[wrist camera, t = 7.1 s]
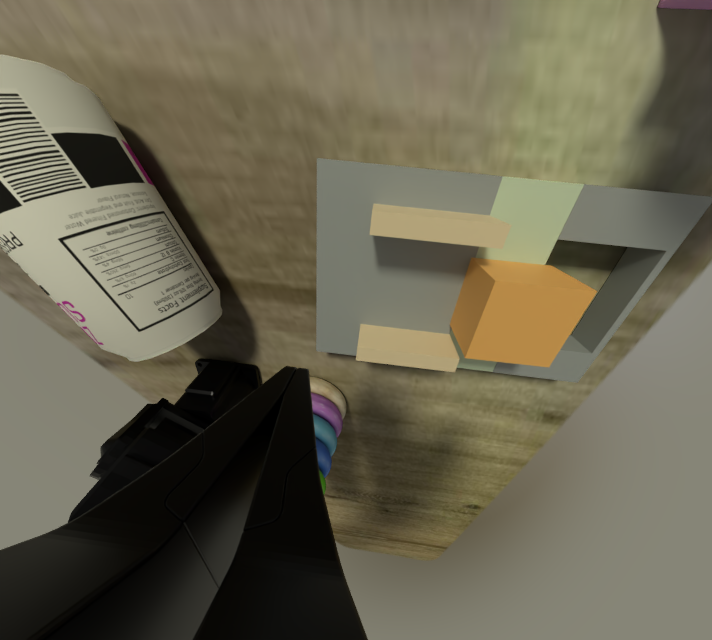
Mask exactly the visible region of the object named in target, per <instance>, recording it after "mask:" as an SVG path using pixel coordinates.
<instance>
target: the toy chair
mask: <svg viewBox="0 0 712 640" xmlns="http://www.w3.org/2000/svg"><path fill="white" fill-rule="evenodd" d="M658 8H673V9H705V10H712V0H660V2H659V5H658Z"/></svg>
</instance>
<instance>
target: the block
mask: <svg viewBox="0 0 712 640" xmlns="http://www.w3.org/2000/svg"><path fill="white" fill-rule="evenodd" d="M596 293H597V291H596V290H594V289H592V288H590V287H589V286H587V285H585V284H583V283H581V282H580V281H578V280H576V279H574V278H573V277H571V276H569V275H567V274H566V273H564V272H562V271H560V270H558V269H557V268H555V267H553V266H550V265H540V264H531V263H521V262H511V261H501V260H491V259H482V258H472V257H471V260H470V263H469V266H468V269H467V272H466V275H465V278H464V282H463V285H462V288H461V291H460V294H459V297H458V300H457V303H456V306H455V309H454V312H453V315H452V318H451V322H450V326H451V328H452V331H453V333H454V335H455V337H456V339H457V342H458V344H459V346H460V348H461V350H462V353H463V355H464V357H465V358H468V359H477V360H486V361H495V362H504V363H513V364H522V365H531V366H540V367H550V365H551V363H552V362H553V360H554V359H555V357H556V356H557V354H558V352H559V351H560V349H561V348H562V346H563V345H564V343H565V341H566V340H567V338H568V337H569V335H570V333H571V332H572V330H573V329H574V327H575V326H576V324H577V322H578V321H579V319H580V318H581V316H582V315H583V313H584V311H585V310H586V308H587V307H588V305H589V304H590V302H591V300H592V299H593V297H594V296H595V294H596Z"/></svg>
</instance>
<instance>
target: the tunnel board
mask: <svg viewBox="0 0 712 640" xmlns="http://www.w3.org/2000/svg"><path fill="white" fill-rule="evenodd" d="M711 203H712V197H710V196H699V195H689V194H679V193H669V192H658V191H648V190H638V189H628V188H617V187H607V186H597V185H587V184H576V183H566V182H556V181H546V180H535V179H525V178H515V177H505V176H495V175H484V174H474V173H464V172H454V171H443V170H433V169H423V168H413V167H403V166H392V165H382V164H372V163H362V162H351V161H341V160H331V159H321V158H317V341H316V351H321V352H329V353H337V354H345V355H354V356H356V360H357V361H366V362H374V363H382V364H390V365H399V366H407V367H415V368H423V369H432V370H440V371H448V372H455V371H456V368H464V369H473V370H481V371H489V372H494V373H503V374H511V375H519V376H528V377H536V378H544V379H552V380H561V381H569V382H577V383H578V381H579V380H580V379H581V377H582V376H583V375H584V373H585V372H586V371H587V369H588V368H589V367H590V365H591V364H592V362H593V361H594V360H595V358H596V357H597V356H598V354H599V353H600V352H601V350H602V349H603V348H604V346H605V345H606V344H607V342H608V341H609V340H610V338H611V337H612V336H613V334H614V333H615V332H616V330H617V329H618V328H619V326H620V325H621V324H622V322H623V321H624V320H625V318H626V317H627V316H628V314H629V313H630V312H631V310H632V309H633V308H634V306H635V305H636V304H637V302H638V301H639V300H640V298H641V297H642V296H643V294H644V293H645V292H646V290H647V289H648V288H649V286H650V285H651V284H652V282H653V281H654V280H655V278H656V277H657V276H658V274H659V273H660V272H661V270H662V269H663V268H664V266H665V265H666V263H667V262H668V261H669V259H670V258H671V257H672V255H673V254H674V253H675V251H676V250H677V249H678V247H679V246H680V245H681V243H682V242H683V241H684V239H685V238H686V237H687V235H688V234H689V233H690V231H691V230H692V229H693V227H694V226H695V225H696V223H697V222H698V221H699V219H700V218H701V217H702V215H703V214H704V213H705V211H706V210H707V209H708V207H709V206H710V205H711ZM557 239H559V240H568V241H578V242H587V243H597V244H606V245H616V246H626V247H628V248H627V249H626V251H625V252H624V254H623V255H622V257H621V259H620V260H619V262H618V263H617V265H616V266H615V268H614V269H613V271H612V273H611V274H610V276H609V277H608V279H607V280H606V282H605V283H604V285H603V287H602V288H601V290H600V291H599V293H598V294H597V296H596V297H595V299H594V301H593V302H592V304H591V305H590V307H589V308H588V310H587V311H586V313H585V315H584V316H583V318H582V319H581V321H580V322H579V324H578V325H577V327H576V329H575V330H574V332H573V333H572V335H569V337H568V338H567V340H566V341H565V343H564V345H563V346H562V348H561V349H560V351H559V352H558V354H557V356H556V357H555V359H554V360H553V362H552V363H551V365H550V367H540V366H531V365H522V364H513V363H504V362H495V361H486V360H477V359H468V358H465V357H464V355H463V353H462V350H461V348H460V346H459V344H458V342H457V339H456V337H455V335H454V333H453V331H452V328H451V326H450V322H451V318H452V315H453V312H454V309H455V306H456V303H457V300H458V297H459V294H460V291H461V288H462V285H463V282H464V278H465V275H466V272H467V269H468V266H469V263H470V260H471V257H472V258H482V259H491V260H501V261H511V262H521V263H531V264H540V265H545V264H546V262H547V260H548V258H549V256H550V254H551V251H552V249H553V247H554V245H555V243H556V241H557Z"/></svg>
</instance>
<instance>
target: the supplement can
mask: <svg viewBox="0 0 712 640" xmlns="http://www.w3.org/2000/svg"><path fill="white" fill-rule="evenodd" d="M0 247H1V248H2V249H3V250H4V251H5V252H6V253H7V254H8V255H9V256H10V257H11V258H12V259H13V260H14V261H15V262H16V263H17V264H18V265H19V266H20V267H21V268H22V269H23V270H24V271H25V272H26V273H27V274H28V275H29V276H30V277H31V278H32V279H33V280H34V281H35V282H36V283H37V284H38V285H39V286H40V287H41V288H42V289H43V290H44V291H45V292H46V293H47V294H48V296H49V297H50V298H51V299H52V300H53V301H54V302H55V303H56V304H57V305H58V306H59V307H60V308H61V309H62V310H63V311H64V312H65V313H66V314H67V315H68V316H69V317H70V318H71V319H72V320H73V321H74V322H75V323H76V324H77V325H78V326H79V327H80V328H81V329H82V330H83V331H84V332H85V333H86V334H87V335H88V336H89V337H90V338H91V339H92V340H93V341H94V342H95V343H96V344H97V345H98V346H99V347H100V348H101V349H102V350H106V351H109V352H112V353H115V354H118V355H121V356H124V357H127V358H128V360H129V361H136V362H138V361H142V360H146V359H150V358H153V357H155V356H158V355H160V354H163V353H166V352H168V351H170V350H172V349H174V348H176V347H178V346H180V345H182V344H184V343H186V342H188V341H189V340H191V339H192V338H194V337H196V336H197V335H199V334H200V333H202V332H204V331H205V330H206V329H207V328H209V327H210V326H211V325H213V324H214V323H215V322H216V321H217V320H218V319H219V318H220V316H221V315H222V311H223V310H222V308H221V305H220V290H219V288H218V287H217V285H216V284H215V282H214V280H213V279H212V277H211V276H210V274H209V272H208V271H207V269H206V268H205V266H204V264H203V263H202V261H201V260H200V258H199V256H198V255H197V253H196V252H195V250H194V248H193V247H192V245H191V244H190V242H189V240H188V239H187V237H186V236H185V234H184V233H183V231H182V229H181V228H180V226H179V225H178V223H177V221H176V220H175V218H174V217H173V215H172V213H171V212H170V210H169V209H168V207H167V205H166V204H165V202H164V201H163V199H162V197H161V196H160V194H159V193H158V191H157V189H156V188H155V186H154V185H153V183H152V181H151V180H150V178H149V177H148V175H147V173H146V172H145V170H144V169H143V167H142V165H141V164H140V162H139V161H138V159H137V157H136V156H135V154H134V153H133V151H132V149H131V148H130V146H129V145H128V143H127V142H126V140H125V138H124V137H123V135H122V134H121V132H120V130H119V129H118V127H117V126H116V124H115V122H114V121H113V119H112V118H111V116H110V114H109V113H108V111H107V110H106V108H105V106H104V105H103V103H102V102H101V100H100V98H99V97H98V96H97V95H96V94H94V93H93V92H92V91H91V90H90V89H89V88H88V87H87V86H84V85H82V84H80V83H77V82H75V81H73V80H72V79H71V78H70V77H68V76H67V75H66V74H65V73H63V72H61V71H59V70H56V69H54V68H52V67H49V66H47V65H44V64H42V63H39V62H35V61H30V60H25V59H21V58H16V57H12V56H7V55H0Z"/></svg>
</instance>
